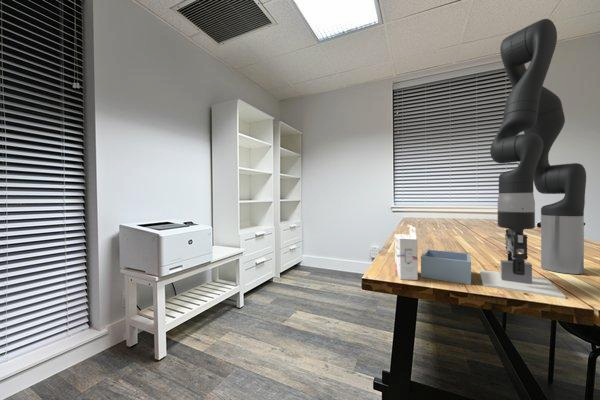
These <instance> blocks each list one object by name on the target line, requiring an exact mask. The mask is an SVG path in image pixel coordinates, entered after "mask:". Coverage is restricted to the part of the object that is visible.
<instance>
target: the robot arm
mask: <svg viewBox="0 0 600 400" xmlns="http://www.w3.org/2000/svg"><path fill="white" fill-rule="evenodd" d="M557 31H558V30H557V28H556V25H555V23H554V22H553V21H552V20H551V19H549V18H543V19H540V20H538V21H536V22H533V23H532V24H531V23H530V24H529V25H528V26H525V27H523V28H522V29H520V30H517V31H515V32H514V33H512V34H510V35H508V36H506V37H505V38H504V39H502V41H501V42H500V43H501V44H500V49H499V50H500V57H501V61H502V65H503V66H504V70H505V73H506V75H507V77H508V79H509V82H510V84H511V85H510V86H511V88H512V89H511V91H510V93H509V94H508V96H507V97H506V100H505V104H504V111H503V117H502V123H501V125H500V127H499V128H498V131H497V132H496V134H495V137H494V138H493V140H492V143H491V145H490V151H489V153H490V157H491V159H492V160H493V161H494V162H495V163H497V164H510V163H517V162H518V163H519V164H518V165H517V167H516V168H514V169H512V170H508V171H504V172H502V173H500V174H499V177H498V197H497V226H498V227H499V228H501V229H502V228H503V229H505V234H504V237H505V239H504V240H505V241H504V242H505V243H504V244H505V250H506V253H507V261H513V273H514V274H516V275H524V274H525V261H526V260H528V257H529V256H528V235H527V234H524V230H533V229H535V228H536V202H535V201H536V200H535V196H534V187H535V189H536V191H537V192H539V194H543V195H546V194H547V195H557V194H558V195H561V194H562V195H563V194H564V195H563V196H564V197H563V198H562V199H561V200H558V201H556V202H554V203H551V204H550V203H549V204H546V205H542V206H541V208H540V267H541V268H542V269H544V270H546V271H547V270H548V271H551V272H554V273H555V272H557V273H563V274H570V275H571V274H572V275H583V274H584V273H585V243H584V242H585V217H584V216H585V203H586V187H587V171H586V168H585V167H584V165H583V164H581V163H576V162H575V163H563V164H561V163H560V164H552V165H550V160H549V154H550V152H551V148H552V146H553V145H554V143H555V141H556V140H557V138H558V137H559V135H560V134H561V132H562V130H563V128H564V126H565V122H566V118H565V117H566V116H565V113H564V112H565V111H564V108H563V103H562V101H561V98H560V97H559V96H558V95H557V94H555V93H554V92H553V91H551V90H549V88H546V87H545V86H543V85H544V82H545V80H546V78H547V74H548V73H549V69H550V65H551V63H552V59H553V55H554V54H555V50H556V46H557V41H558V32H557ZM528 63H529V65H528V67H527V66H526V64H528ZM520 133H522V134H520Z"/></svg>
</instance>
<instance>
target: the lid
mask: <svg viewBox="0 0 600 400" xmlns="http://www.w3.org/2000/svg"><path fill="white" fill-rule="evenodd" d="M479 275H480V279H481V284H482V287H485V288H486V287H487V288H492V289H500V290H504V291H511V292H519V293H525V294H530V293H532V294H533V295H537V296H538V295H539V296H544V297H550V298H558V299H563V300H566V297H567V296H566V295H565V294H564V293H563V292H562V291H561V290H560V289H559V288H557V287H556V286H555V285H554V283H552V281H550V279H548V278H547V277H541V276H533V265H532V264H531V263H530V262H525V274H524V275H516V274H514V273H513V261H508V259H507V260H505V259H500V271H493V270H492V271H491V270H483V269H479ZM532 294H531V295H532Z"/></svg>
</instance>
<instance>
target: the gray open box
mask: <svg viewBox="0 0 600 400" xmlns="http://www.w3.org/2000/svg"><path fill="white" fill-rule="evenodd" d="M420 277H421V278H426V279H432V280H437V281H446V282H452V283H459V284H464V285H465V284H466V285H471V286H472V258H471V253H470V252H469V253H468V252H459V251H450V250H439V249H430V248H429V249H428V248H425V249H424V251H423V253H422V254H421V256H420Z"/></svg>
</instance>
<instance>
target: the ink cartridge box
mask: <svg viewBox="0 0 600 400" xmlns="http://www.w3.org/2000/svg"><path fill="white" fill-rule="evenodd" d="M417 234H418V233H417V228H416V227H414V226H412V225H411V224H409V234H399V233H398V234H394V270H395V272H396V274H397V277H398V278H399V280H404V281H405V280H406V281H407V280H408V281H418V279H419V276H418V275H419V272H418V271H419V270H418V269H419V268H418V266H419V265H418V264H419V263H418V256H419V255H418V235H417Z"/></svg>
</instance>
